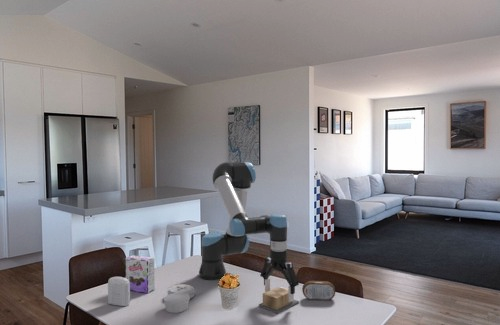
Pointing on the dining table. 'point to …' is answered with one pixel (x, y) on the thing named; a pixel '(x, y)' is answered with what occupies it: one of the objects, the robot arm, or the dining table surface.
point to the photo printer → (119, 291)
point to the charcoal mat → (280, 308)
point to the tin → (318, 290)
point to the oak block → (276, 298)
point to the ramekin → (176, 302)
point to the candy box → (140, 273)
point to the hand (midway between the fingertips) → (278, 296)
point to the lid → (182, 289)
